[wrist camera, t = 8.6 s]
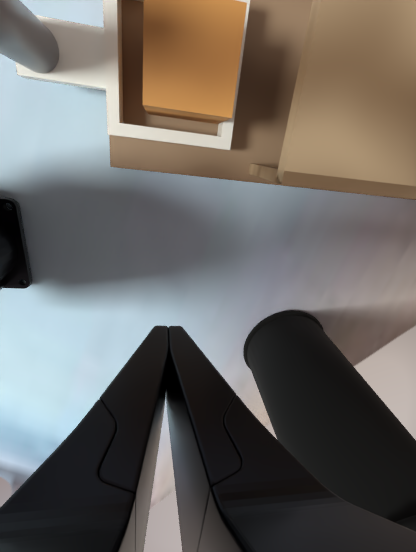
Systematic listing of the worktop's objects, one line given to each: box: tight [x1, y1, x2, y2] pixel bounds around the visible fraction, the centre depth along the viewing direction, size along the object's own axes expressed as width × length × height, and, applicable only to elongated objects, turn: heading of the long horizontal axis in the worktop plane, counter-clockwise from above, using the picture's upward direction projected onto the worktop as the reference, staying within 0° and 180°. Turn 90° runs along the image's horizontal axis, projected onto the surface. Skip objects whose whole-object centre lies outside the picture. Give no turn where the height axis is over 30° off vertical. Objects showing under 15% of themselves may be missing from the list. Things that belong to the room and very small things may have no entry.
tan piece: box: [110, 0, 416, 200], centre depth 15 cm, size 10×25×8 cm, turn 83°
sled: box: [0, 0, 250, 150], centre depth 10 cm, size 7×11×10 cm, turn 83°
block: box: [143, 0, 247, 124], centre depth 13 cm, size 4×4×4 cm
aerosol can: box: [244, 311, 416, 532], centre depth 18 cm, size 8×8×20 cm
